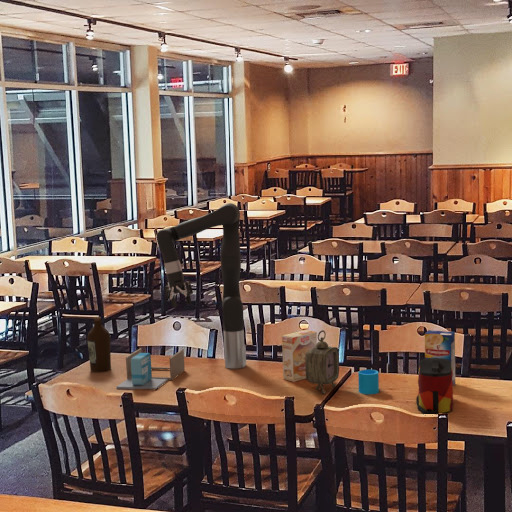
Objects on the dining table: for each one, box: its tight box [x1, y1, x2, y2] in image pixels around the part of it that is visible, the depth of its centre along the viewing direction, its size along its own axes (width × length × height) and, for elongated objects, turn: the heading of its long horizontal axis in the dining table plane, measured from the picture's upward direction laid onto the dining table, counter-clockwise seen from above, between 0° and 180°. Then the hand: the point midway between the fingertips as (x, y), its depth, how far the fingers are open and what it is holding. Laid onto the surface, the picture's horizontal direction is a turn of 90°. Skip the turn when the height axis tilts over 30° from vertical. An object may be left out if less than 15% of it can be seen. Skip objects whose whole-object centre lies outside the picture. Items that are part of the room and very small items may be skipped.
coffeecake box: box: [281, 329, 318, 382], centre depth 379 cm, size 15×7×20 cm, turn 131°
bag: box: [415, 358, 454, 415], centre depth 332 cm, size 30×14×16 cm, turn 168°
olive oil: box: [86, 316, 112, 373], centre depth 406 cm, size 11×11×25 cm
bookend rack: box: [125, 347, 186, 381], centre depth 394 cm, size 21×17×10 cm
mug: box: [357, 369, 380, 395], centre depth 356 cm, size 12×8×8 cm
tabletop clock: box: [305, 329, 340, 395], centre depth 358 cm, size 14×9×25 cm, turn 151°
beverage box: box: [424, 329, 456, 387], centre depth 358 cm, size 7×11×22 cm, turn 65°
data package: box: [131, 352, 153, 385], centre depth 378 cm, size 12×4×12 cm, turn 165°
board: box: [116, 378, 168, 390], centre depth 378 cm, size 18×14×1 cm
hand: (182, 305), depth 401 cm, fingers open, 8 cm apart
